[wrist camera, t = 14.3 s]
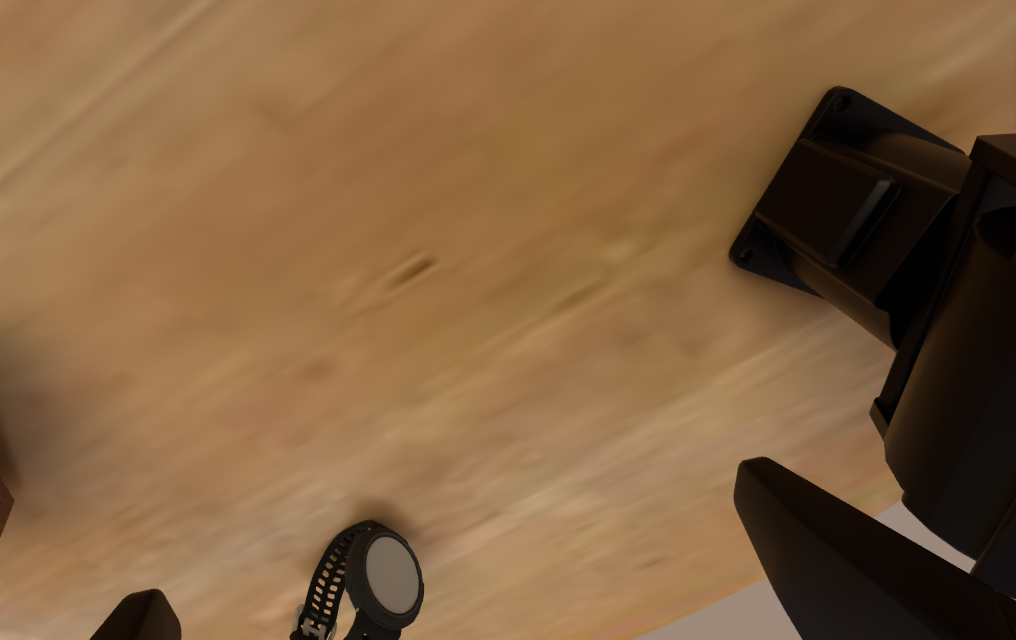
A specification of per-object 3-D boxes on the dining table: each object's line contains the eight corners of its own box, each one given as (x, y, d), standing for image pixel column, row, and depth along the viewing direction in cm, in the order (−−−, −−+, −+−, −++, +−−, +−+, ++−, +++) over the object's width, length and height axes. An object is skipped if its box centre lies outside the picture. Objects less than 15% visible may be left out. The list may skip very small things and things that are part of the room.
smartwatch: (426, 544, 27) (440, 655, 23) (312, 587, 27) (306, 706, 23) (390, 481, 25) (398, 591, 21) (266, 527, 25) (249, 648, 21)
